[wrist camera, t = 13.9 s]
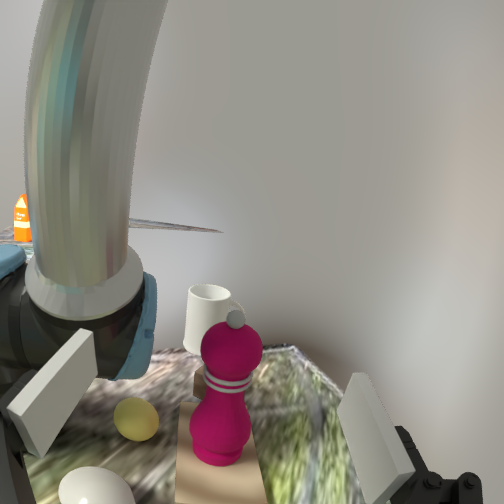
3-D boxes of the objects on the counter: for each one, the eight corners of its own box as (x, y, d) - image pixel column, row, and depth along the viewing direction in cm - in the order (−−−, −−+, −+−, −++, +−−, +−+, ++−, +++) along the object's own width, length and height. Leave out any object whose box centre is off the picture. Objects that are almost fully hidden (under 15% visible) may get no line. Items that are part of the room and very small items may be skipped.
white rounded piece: (57, 489, 19) (48, 474, 18) (115, 474, 24) (111, 459, 24) (88, 545, 13) (78, 535, 13) (152, 524, 19) (149, 512, 18)
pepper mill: (178, 456, 29) (182, 313, 24) (202, 422, 36) (216, 290, 31) (234, 477, 27) (265, 338, 23) (252, 439, 34) (283, 307, 29)
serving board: (179, 406, 39) (180, 400, 39) (245, 410, 41) (246, 405, 41) (175, 506, 22) (174, 502, 22) (265, 507, 24) (267, 503, 24)
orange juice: (36, 237, 108) (37, 193, 104) (26, 242, 100) (27, 195, 96) (24, 236, 107) (25, 192, 103) (14, 240, 99) (14, 194, 94)
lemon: (109, 425, 32) (103, 394, 30) (146, 414, 36) (144, 383, 35) (128, 455, 28) (123, 425, 26) (168, 441, 32) (167, 411, 31)
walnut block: (192, 395, 43) (194, 371, 42) (209, 381, 47) (212, 358, 46) (220, 408, 41) (223, 384, 40) (235, 392, 45) (239, 369, 44)
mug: (240, 340, 63) (249, 289, 60) (240, 362, 55) (250, 306, 52) (186, 332, 62) (191, 280, 60) (179, 353, 54) (183, 296, 51)
